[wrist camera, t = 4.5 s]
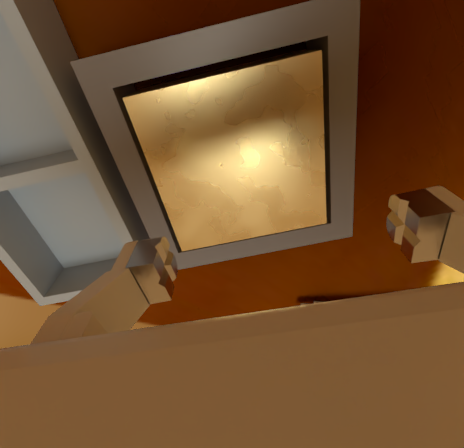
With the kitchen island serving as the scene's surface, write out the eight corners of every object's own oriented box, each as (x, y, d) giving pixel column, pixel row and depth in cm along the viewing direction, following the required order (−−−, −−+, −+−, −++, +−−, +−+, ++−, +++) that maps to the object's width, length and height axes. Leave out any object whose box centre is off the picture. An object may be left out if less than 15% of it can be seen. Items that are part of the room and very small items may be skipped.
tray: (-132, 1, 15) (-234, -13, 12) (33, -46, 14) (-25, -75, 11) (63, 272, 26) (40, 305, 22) (163, 252, 25) (154, 284, 22)
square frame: (330, 0, 16) (360, -13, 12) (332, 209, 23) (352, 236, 20) (99, 59, 17) (69, 61, 13) (172, 240, 24) (165, 272, 21)
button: (300, 49, 17) (321, 50, 13) (309, 196, 22) (326, 223, 18) (141, 88, 17) (122, 98, 14) (187, 221, 23) (182, 251, 19)
